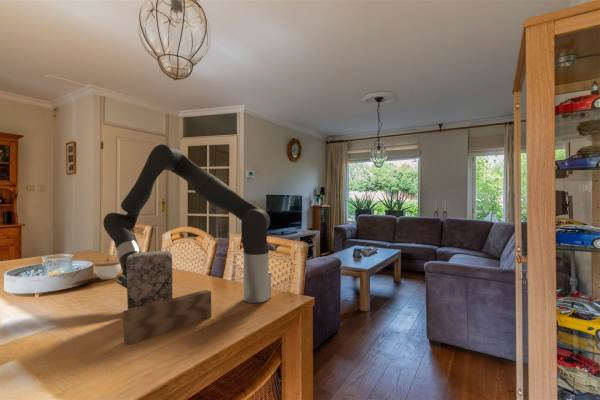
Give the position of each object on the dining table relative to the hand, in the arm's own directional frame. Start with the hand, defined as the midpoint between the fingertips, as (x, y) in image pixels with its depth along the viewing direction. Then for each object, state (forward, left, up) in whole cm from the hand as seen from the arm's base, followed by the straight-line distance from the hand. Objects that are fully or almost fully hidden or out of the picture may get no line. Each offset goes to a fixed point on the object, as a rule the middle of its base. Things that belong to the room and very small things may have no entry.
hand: (144, 297), depth 100 cm
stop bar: (0, +20, -4) cm, 20 cm away
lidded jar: (-5, -57, -4) cm, 57 cm away
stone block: (0, +5, -4) cm, 7 cm away
